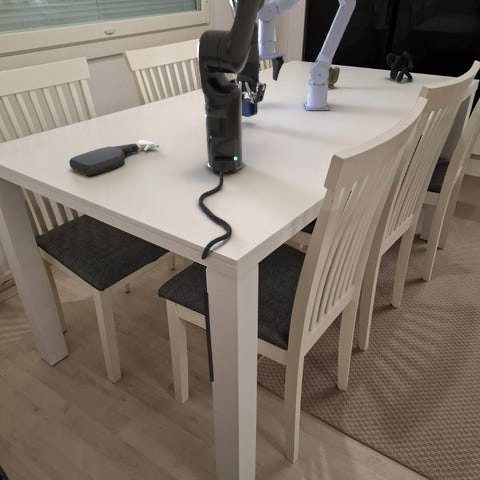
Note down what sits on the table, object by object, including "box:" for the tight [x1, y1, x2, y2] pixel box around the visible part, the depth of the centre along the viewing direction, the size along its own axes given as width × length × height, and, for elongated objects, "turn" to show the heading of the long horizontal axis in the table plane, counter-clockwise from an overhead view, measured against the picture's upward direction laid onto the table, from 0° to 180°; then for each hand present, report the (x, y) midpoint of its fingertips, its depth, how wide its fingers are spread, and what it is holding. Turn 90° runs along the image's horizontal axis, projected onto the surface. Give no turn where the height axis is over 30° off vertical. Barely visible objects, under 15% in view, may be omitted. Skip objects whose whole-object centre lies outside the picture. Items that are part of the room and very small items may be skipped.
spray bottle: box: [68, 139, 160, 177], centre depth 124 cm, size 3×11×24 cm
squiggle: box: [385, 51, 414, 83], centre depth 198 cm, size 11×10×15 cm
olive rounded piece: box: [327, 66, 341, 89], centre depth 188 cm, size 8×7×8 cm
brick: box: [242, 97, 258, 118], centre depth 147 cm, size 4×5×5 cm
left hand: (247, 113), depth 148 cm, fingers closed on brick, 4 cm apart
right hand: (265, 81), depth 162 cm, fingers open, 7 cm apart
